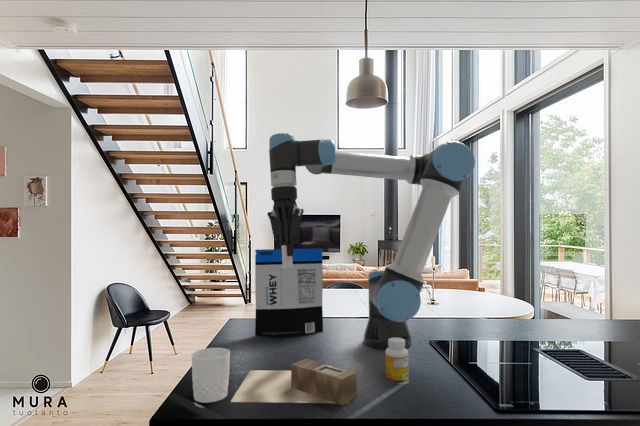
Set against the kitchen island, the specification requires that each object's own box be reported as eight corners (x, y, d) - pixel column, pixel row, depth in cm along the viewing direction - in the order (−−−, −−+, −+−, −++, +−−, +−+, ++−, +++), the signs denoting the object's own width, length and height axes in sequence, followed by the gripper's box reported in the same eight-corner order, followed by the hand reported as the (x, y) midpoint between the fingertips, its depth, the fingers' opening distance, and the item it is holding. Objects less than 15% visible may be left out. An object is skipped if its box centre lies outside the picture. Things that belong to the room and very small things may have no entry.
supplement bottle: (384, 376, 93) (383, 336, 93) (406, 377, 93) (405, 336, 93) (387, 385, 87) (386, 342, 88) (410, 385, 87) (410, 342, 88)
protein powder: (326, 334, 132) (325, 248, 134) (256, 339, 127) (256, 250, 129) (319, 328, 142) (319, 248, 143) (254, 332, 136) (254, 249, 138)
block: (291, 363, 84) (342, 378, 75) (306, 358, 88) (356, 371, 79) (291, 387, 84) (342, 405, 75) (306, 380, 88) (356, 396, 79)
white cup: (196, 394, 83) (196, 348, 84) (232, 392, 84) (232, 347, 85) (186, 410, 76) (187, 359, 76) (226, 409, 76) (227, 358, 77)
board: (346, 375, 94) (346, 371, 94) (348, 409, 76) (348, 403, 76) (250, 375, 95) (250, 370, 95) (230, 407, 77) (230, 401, 77)
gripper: (259, 189, 113) (262, 268, 111) (290, 183, 104) (294, 269, 103) (277, 190, 118) (281, 266, 117) (308, 185, 110) (313, 266, 108)
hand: (287, 267), depth 110 cm, fingers closed
